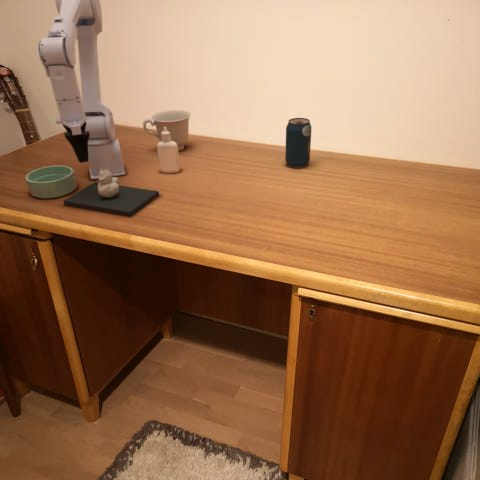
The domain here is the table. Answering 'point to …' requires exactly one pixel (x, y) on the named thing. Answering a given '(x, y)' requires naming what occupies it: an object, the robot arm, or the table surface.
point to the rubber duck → (107, 184)
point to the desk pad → (112, 200)
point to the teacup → (171, 125)
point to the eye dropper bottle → (168, 154)
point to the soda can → (298, 142)
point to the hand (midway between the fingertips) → (82, 156)
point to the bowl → (51, 181)
